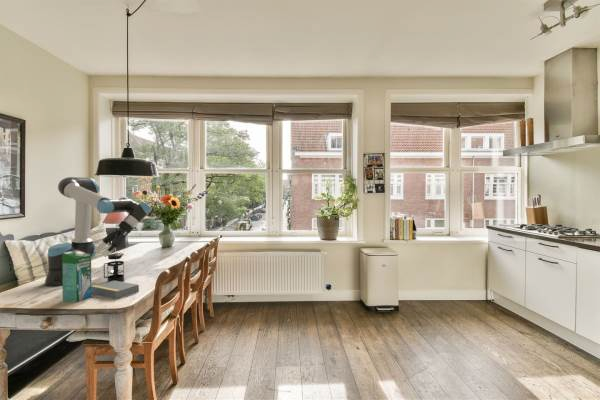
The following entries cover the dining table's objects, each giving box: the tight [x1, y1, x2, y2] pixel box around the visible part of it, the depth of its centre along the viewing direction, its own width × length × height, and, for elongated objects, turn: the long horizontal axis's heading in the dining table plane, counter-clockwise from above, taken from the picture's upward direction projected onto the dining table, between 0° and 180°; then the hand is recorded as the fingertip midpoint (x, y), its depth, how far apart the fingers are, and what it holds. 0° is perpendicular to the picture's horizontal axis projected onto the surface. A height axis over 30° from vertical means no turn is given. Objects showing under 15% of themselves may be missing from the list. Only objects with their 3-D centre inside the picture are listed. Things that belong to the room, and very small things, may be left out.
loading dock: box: [91, 280, 140, 300], centre depth 184 cm, size 20×14×4 cm
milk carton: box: [62, 250, 93, 303], centre depth 173 cm, size 9×9×25 cm
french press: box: [103, 247, 125, 283], centre depth 205 cm, size 12×9×23 cm
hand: (99, 253), depth 181 cm, fingers open, 13 cm apart
